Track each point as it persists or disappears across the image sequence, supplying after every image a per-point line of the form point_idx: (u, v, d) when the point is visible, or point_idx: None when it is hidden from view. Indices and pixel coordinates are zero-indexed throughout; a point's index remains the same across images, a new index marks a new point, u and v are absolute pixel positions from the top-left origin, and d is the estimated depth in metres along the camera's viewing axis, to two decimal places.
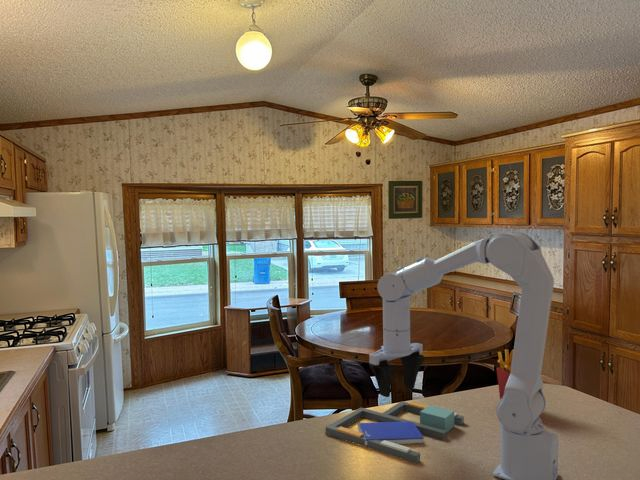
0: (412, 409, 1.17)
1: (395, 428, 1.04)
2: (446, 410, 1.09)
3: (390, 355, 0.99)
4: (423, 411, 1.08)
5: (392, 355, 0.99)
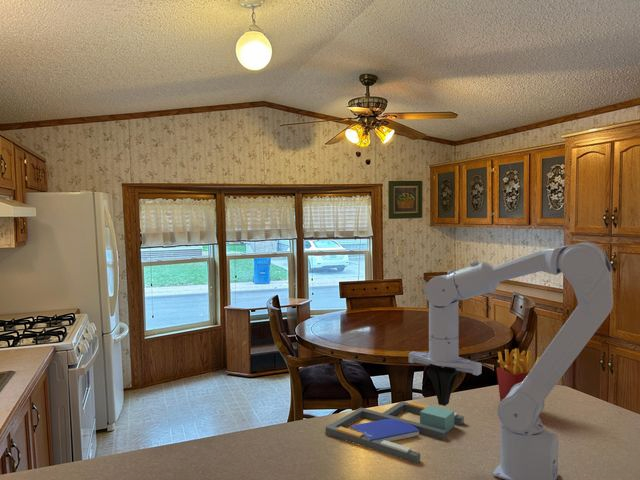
0: (412, 409, 1.17)
1: (389, 425, 1.06)
2: (446, 410, 1.09)
3: (421, 358, 0.96)
4: (423, 411, 1.08)
5: (423, 359, 0.96)
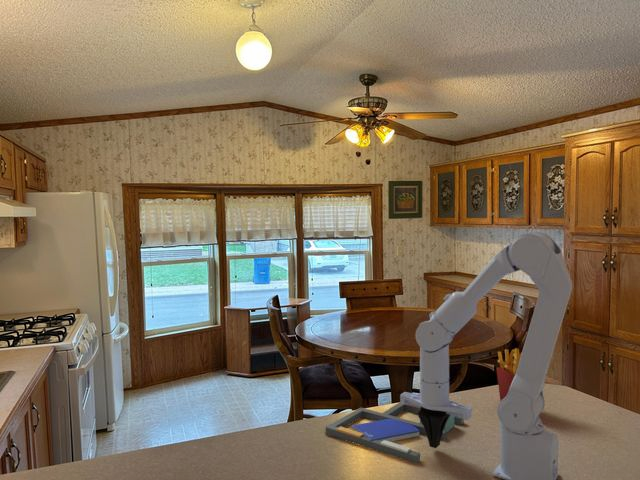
0: (412, 409, 1.17)
1: (389, 425, 1.06)
2: None
3: (412, 400, 0.98)
4: None
5: (414, 401, 0.97)
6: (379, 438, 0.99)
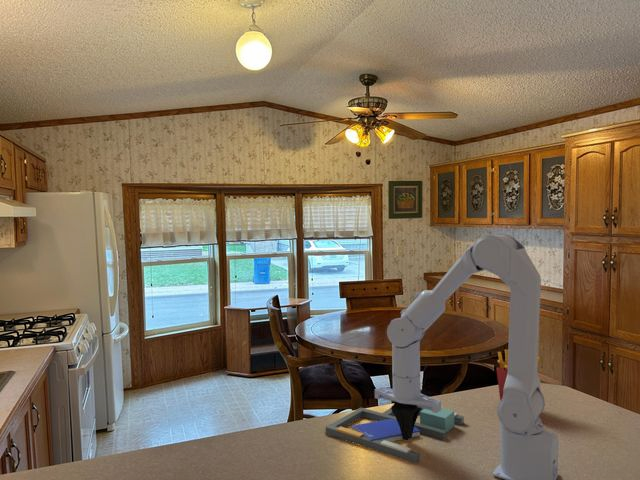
0: None
1: (389, 425, 1.06)
2: (446, 410, 1.09)
3: (386, 395, 1.01)
4: (423, 411, 1.08)
5: (387, 396, 1.01)
6: (379, 438, 0.99)
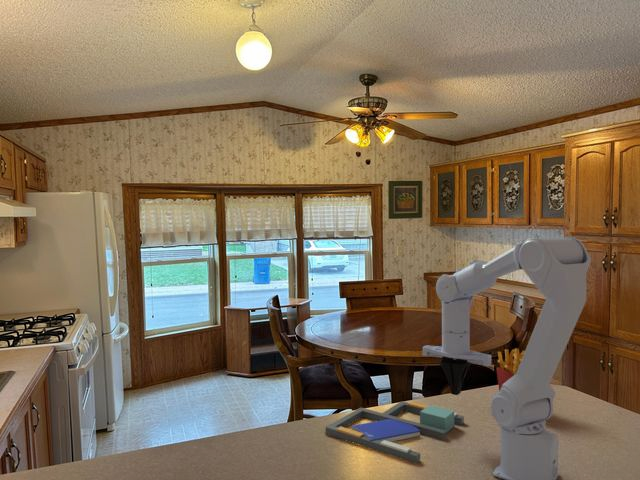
0: (412, 409, 1.17)
1: (390, 425, 1.06)
2: (446, 410, 1.09)
3: (435, 351, 1.04)
4: (423, 411, 1.08)
5: (436, 352, 1.03)
6: (379, 438, 0.99)
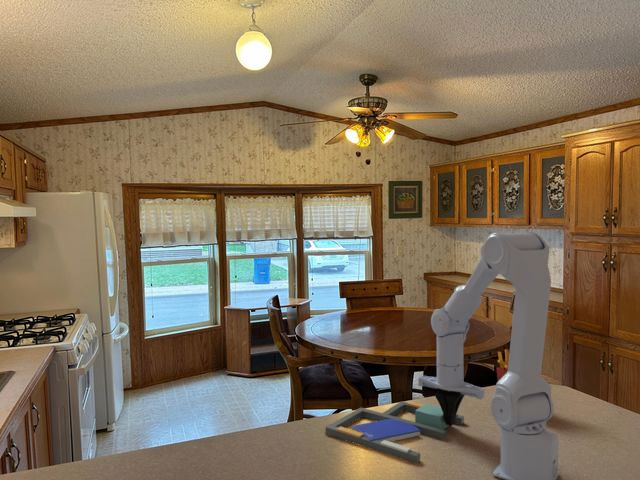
0: (412, 409, 1.17)
1: (390, 425, 1.06)
2: (441, 409, 1.09)
3: (430, 382, 1.07)
4: (418, 410, 1.09)
5: (431, 383, 1.07)
6: (379, 438, 0.99)
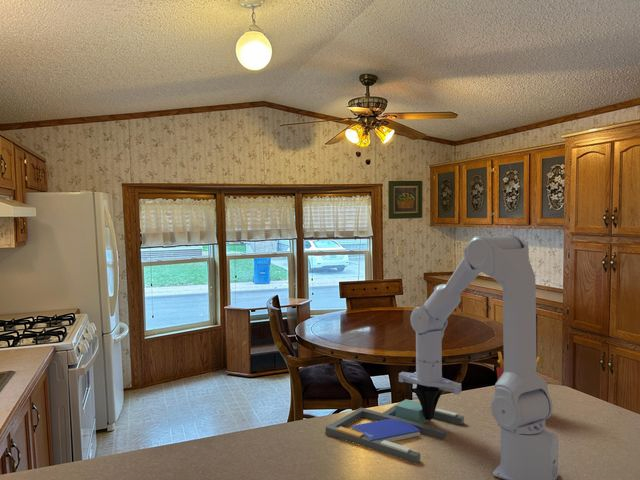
0: None
1: (390, 425, 1.06)
2: None
3: (409, 378, 1.10)
4: (399, 405, 1.12)
5: (411, 379, 1.10)
6: (379, 438, 0.99)
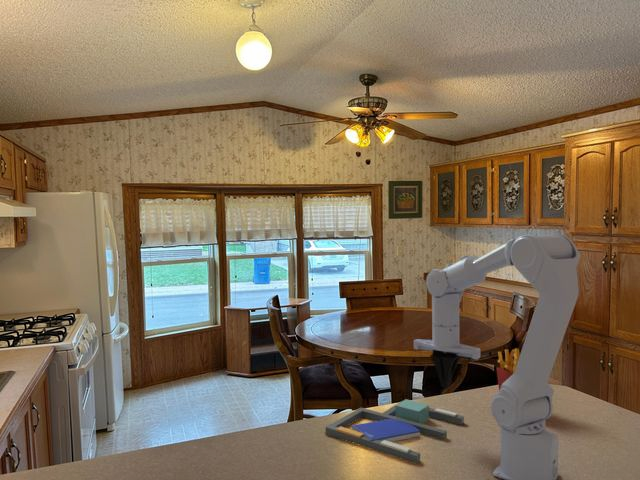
0: None
1: (390, 425, 1.06)
2: (421, 404, 1.13)
3: (425, 344, 1.05)
4: (399, 405, 1.12)
5: (427, 345, 1.05)
6: (379, 438, 0.99)
